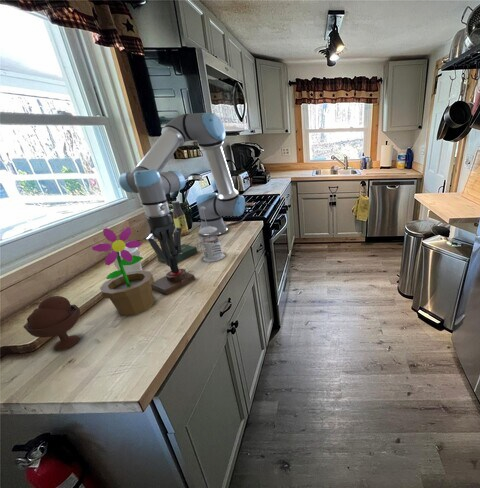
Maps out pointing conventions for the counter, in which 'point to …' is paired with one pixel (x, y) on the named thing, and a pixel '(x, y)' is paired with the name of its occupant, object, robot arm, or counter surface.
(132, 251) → the foam cup
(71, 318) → the ice cream bowl
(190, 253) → the panel
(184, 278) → the button block
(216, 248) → the french press
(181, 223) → the sauce bottle
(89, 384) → the counter surface
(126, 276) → the flowerpot
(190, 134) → the robot arm
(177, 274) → the red button
